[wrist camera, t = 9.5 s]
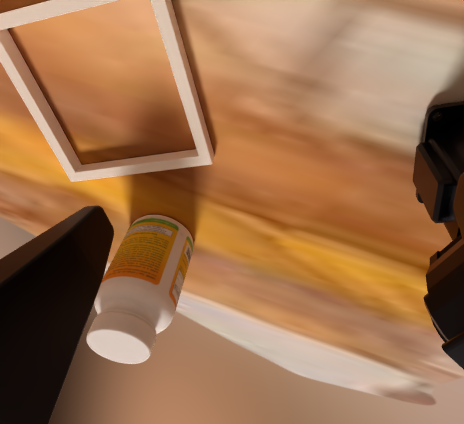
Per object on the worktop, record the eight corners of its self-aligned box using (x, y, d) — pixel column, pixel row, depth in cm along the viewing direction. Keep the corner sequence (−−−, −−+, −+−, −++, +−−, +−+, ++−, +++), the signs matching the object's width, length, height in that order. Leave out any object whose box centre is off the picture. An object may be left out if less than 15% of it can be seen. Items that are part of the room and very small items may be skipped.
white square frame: (162, -31, 17) (156, -29, 16) (214, 156, 23) (212, 164, 22) (-12, 16, 19) (-24, 20, 19) (77, 174, 26) (71, 181, 25)
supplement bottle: (116, 229, 29) (56, 336, 21) (162, 201, 26) (112, 311, 19) (162, 268, 31) (122, 376, 24) (208, 246, 29) (179, 359, 21)
